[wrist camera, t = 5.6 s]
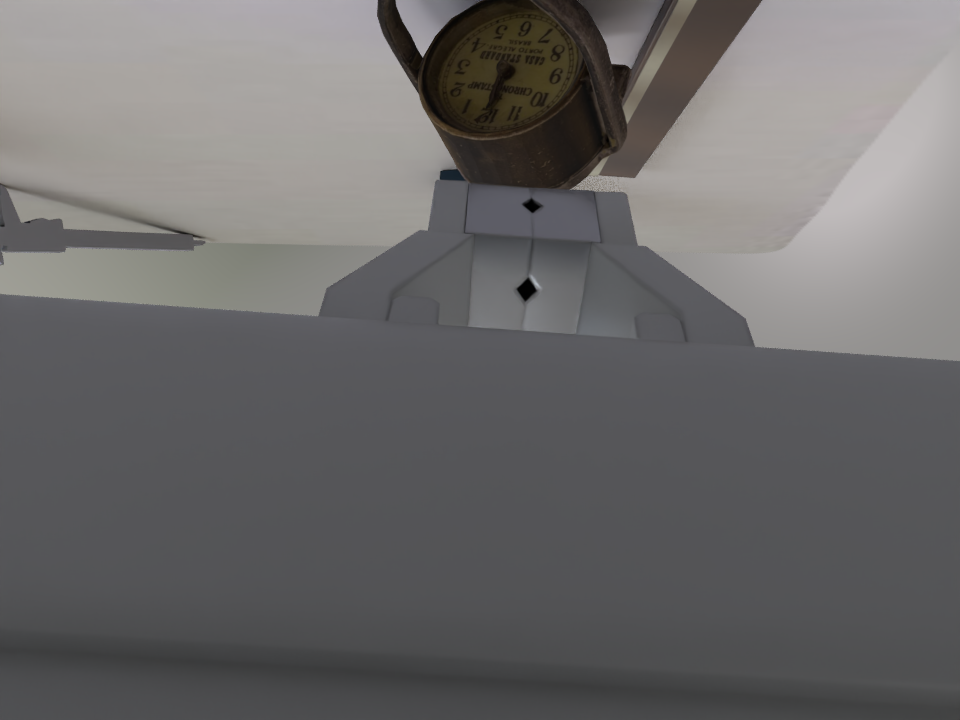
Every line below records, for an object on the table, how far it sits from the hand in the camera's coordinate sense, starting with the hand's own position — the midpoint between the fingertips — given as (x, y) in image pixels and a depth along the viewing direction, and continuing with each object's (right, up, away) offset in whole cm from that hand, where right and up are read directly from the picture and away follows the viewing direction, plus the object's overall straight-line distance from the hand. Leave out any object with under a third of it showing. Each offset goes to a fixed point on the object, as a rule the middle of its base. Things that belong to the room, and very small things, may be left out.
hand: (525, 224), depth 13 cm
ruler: (+7, +10, +24) cm, 27 cm away
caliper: (-33, +10, +57) cm, 67 cm away
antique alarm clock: (0, +11, +15) cm, 19 cm away
